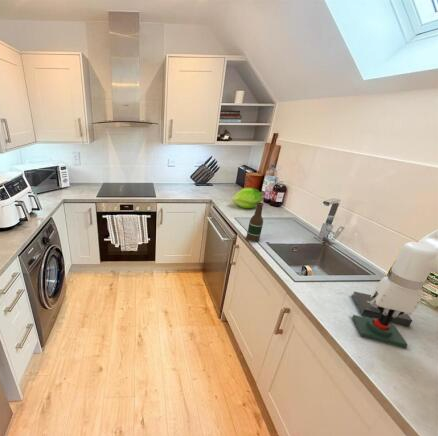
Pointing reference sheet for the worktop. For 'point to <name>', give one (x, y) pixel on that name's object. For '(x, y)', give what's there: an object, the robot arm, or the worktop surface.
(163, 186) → the worktop surface
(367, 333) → the green device base
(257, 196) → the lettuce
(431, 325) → the worktop surface
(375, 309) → the panel
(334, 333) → the worktop surface
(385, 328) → the power button
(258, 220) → the beer bottle
